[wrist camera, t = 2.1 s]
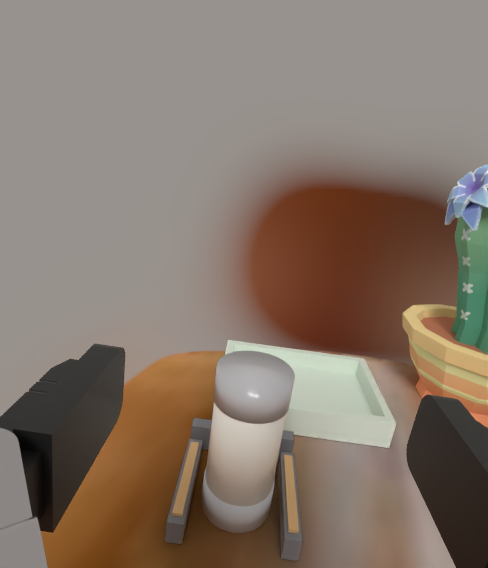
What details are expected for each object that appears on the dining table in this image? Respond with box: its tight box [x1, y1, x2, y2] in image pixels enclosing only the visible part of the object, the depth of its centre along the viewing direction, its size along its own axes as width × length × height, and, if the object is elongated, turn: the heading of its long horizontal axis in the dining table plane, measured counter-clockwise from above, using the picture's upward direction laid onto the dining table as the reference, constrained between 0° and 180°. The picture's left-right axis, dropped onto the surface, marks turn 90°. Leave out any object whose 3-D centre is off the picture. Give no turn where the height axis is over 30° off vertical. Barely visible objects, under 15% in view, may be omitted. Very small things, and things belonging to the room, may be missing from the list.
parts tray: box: [225, 340, 396, 448], centre depth 38 cm, size 15×11×2 cm
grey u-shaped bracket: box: [165, 418, 303, 561], centre depth 27 cm, size 8×9×2 cm
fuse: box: [201, 351, 295, 533], centre depth 24 cm, size 5×5×10 cm
